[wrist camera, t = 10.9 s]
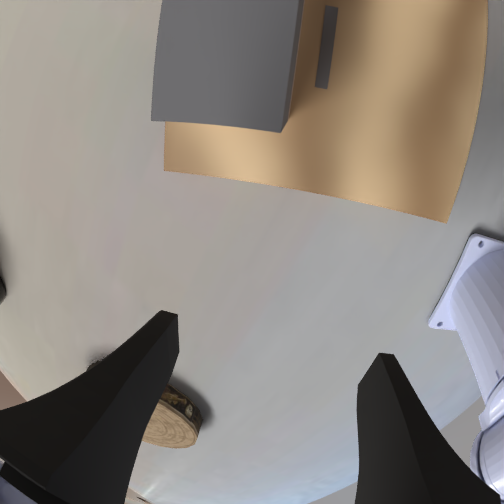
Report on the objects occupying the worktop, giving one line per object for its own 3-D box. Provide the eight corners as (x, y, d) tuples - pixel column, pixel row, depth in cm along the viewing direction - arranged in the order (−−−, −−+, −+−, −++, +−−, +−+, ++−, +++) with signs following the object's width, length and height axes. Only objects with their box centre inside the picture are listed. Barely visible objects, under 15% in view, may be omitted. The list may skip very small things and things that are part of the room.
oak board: (475, -10, 8) (487, -15, 7) (437, 212, 16) (446, 223, 14) (201, -66, 9) (192, -76, 8) (174, 163, 17) (163, 170, 16)
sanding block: (308, -28, 9) (307, -74, 5) (288, 119, 13) (280, 133, 9) (215, -32, 10) (177, -72, 5) (197, 109, 14) (150, 120, 9)
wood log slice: (144, 430, 39) (138, 445, 36) (69, 365, 33) (58, 381, 30) (228, 429, 33) (223, 449, 31) (141, 349, 27) (129, 372, 25)
